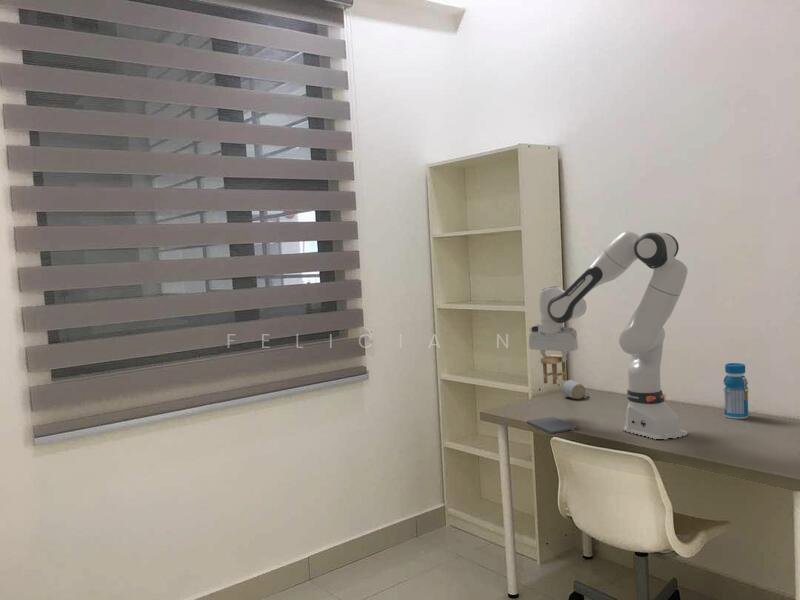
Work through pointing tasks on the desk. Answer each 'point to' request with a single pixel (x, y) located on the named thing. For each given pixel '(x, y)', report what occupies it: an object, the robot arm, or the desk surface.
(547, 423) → the charcoal mat
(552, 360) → the oak stool
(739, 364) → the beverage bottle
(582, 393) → the ceramic mug
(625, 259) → the robot arm
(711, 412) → the desk surface
